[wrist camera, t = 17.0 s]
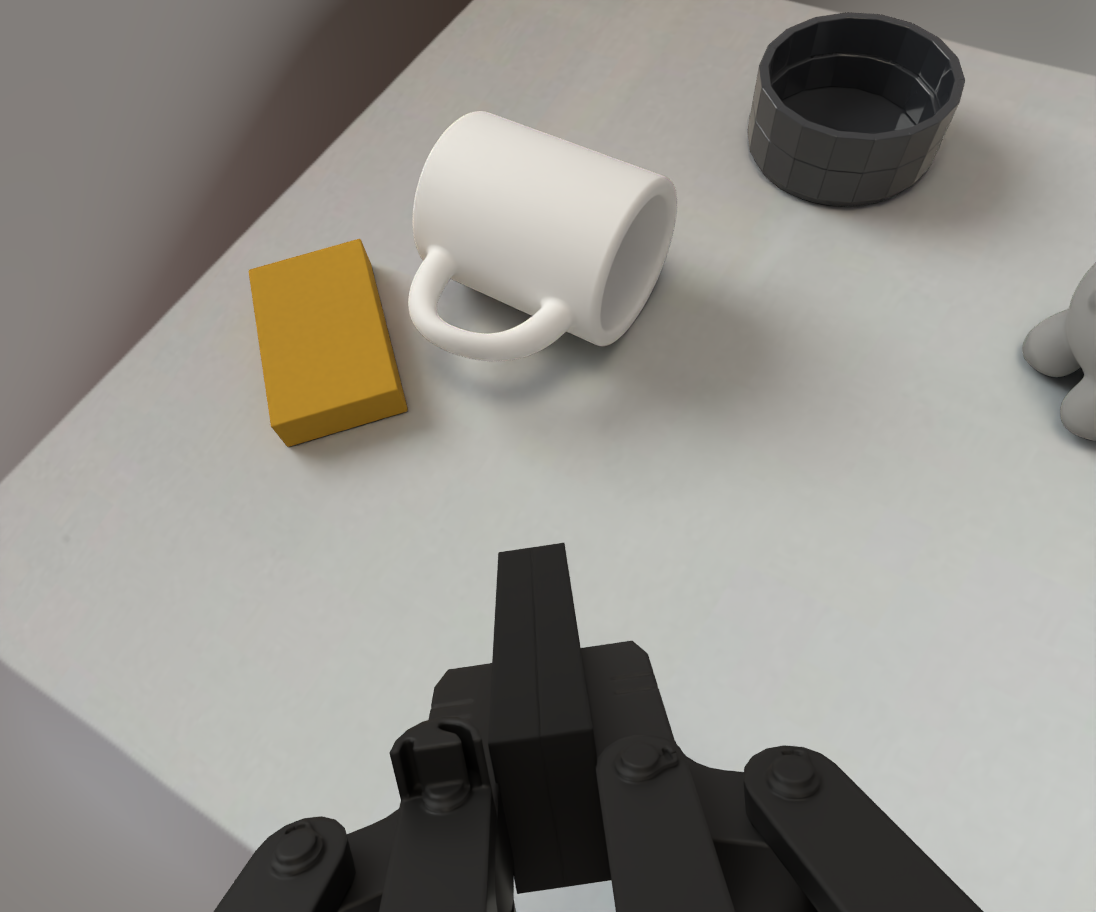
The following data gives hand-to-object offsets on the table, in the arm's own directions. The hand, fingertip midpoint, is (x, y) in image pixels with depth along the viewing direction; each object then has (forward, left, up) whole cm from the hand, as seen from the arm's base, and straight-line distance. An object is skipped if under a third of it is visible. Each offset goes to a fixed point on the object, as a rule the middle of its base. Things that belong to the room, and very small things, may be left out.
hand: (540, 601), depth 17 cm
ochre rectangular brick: (-6, +20, -14) cm, 25 cm away
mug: (+4, +19, -14) cm, 24 cm away
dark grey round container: (+24, +24, -14) cm, 37 cm away
